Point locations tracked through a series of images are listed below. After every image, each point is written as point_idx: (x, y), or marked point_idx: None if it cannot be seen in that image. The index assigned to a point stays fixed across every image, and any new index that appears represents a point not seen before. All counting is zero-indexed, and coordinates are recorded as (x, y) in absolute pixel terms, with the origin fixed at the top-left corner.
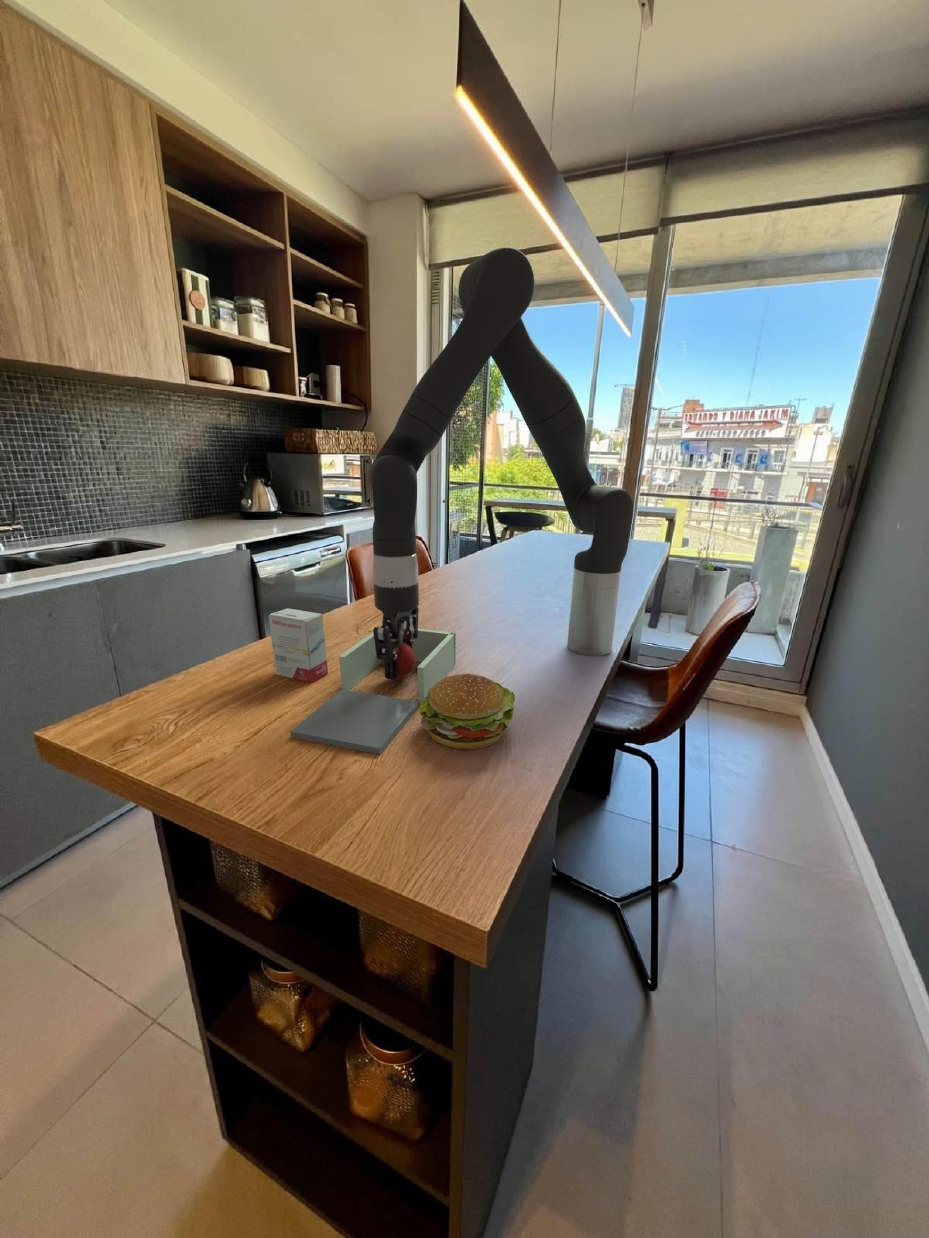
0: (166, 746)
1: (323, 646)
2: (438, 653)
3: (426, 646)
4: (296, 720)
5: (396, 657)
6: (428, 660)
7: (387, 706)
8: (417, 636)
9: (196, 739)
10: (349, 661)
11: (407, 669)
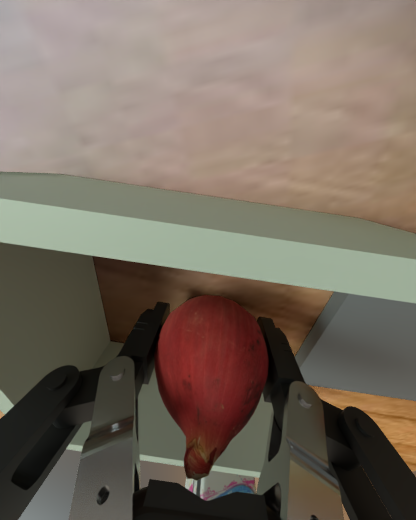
0: (400, 454)
1: (212, 476)
2: (248, 229)
3: (48, 294)
4: (372, 395)
5: (315, 398)
6: None
7: (397, 302)
8: (60, 374)
9: (392, 445)
10: None
11: (247, 312)
